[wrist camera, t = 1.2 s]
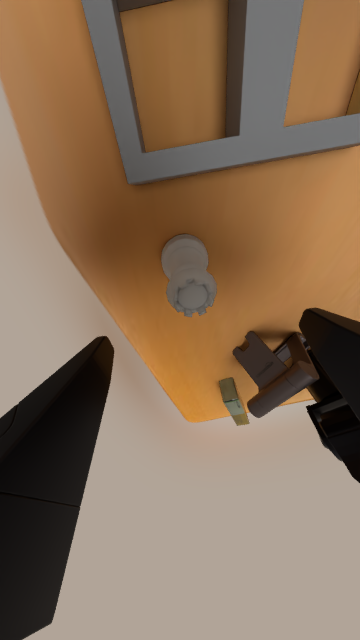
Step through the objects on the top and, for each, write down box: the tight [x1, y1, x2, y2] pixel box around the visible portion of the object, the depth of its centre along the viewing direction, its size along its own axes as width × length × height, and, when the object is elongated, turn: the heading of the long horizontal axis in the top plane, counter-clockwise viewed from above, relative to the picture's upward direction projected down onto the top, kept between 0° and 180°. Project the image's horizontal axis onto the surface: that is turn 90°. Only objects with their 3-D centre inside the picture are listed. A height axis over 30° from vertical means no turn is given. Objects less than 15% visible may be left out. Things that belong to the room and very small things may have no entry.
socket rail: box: [81, 0, 360, 185], centre depth 9 cm, size 8×16×3 cm, turn 98°
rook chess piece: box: [161, 234, 217, 317], centre depth 13 cm, size 4×4×8 cm
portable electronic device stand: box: [233, 331, 319, 418], centre depth 22 cm, size 9×8×8 cm
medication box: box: [219, 378, 249, 426], centre depth 32 cm, size 12×3×4 cm, turn 24°
